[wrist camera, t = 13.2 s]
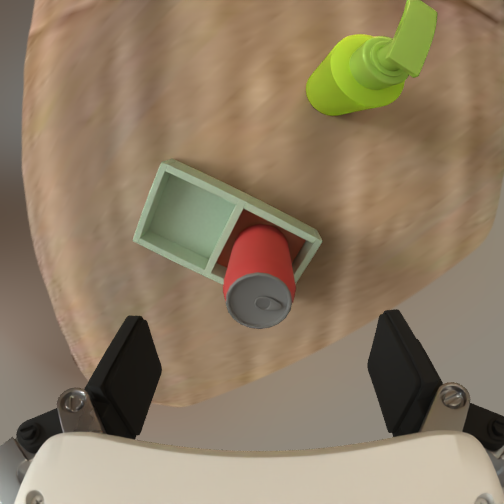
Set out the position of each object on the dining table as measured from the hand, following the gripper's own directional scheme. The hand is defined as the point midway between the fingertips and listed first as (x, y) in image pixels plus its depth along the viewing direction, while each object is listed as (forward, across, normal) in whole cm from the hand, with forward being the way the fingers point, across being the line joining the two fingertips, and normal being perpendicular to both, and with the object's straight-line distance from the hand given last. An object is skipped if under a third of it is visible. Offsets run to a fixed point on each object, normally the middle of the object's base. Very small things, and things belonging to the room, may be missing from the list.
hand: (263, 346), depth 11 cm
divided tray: (+25, +5, +4) cm, 26 cm away
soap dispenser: (+25, -8, -13) cm, 30 cm away
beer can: (+24, 0, +6) cm, 25 cm away
